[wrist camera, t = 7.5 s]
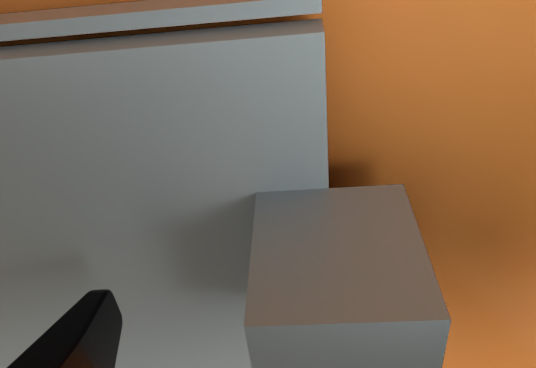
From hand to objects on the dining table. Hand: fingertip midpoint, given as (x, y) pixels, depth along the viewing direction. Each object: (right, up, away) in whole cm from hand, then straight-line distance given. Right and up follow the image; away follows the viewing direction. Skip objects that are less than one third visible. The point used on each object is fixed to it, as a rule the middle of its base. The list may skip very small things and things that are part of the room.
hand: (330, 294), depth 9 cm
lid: (-6, +1, +3) cm, 7 cm away
